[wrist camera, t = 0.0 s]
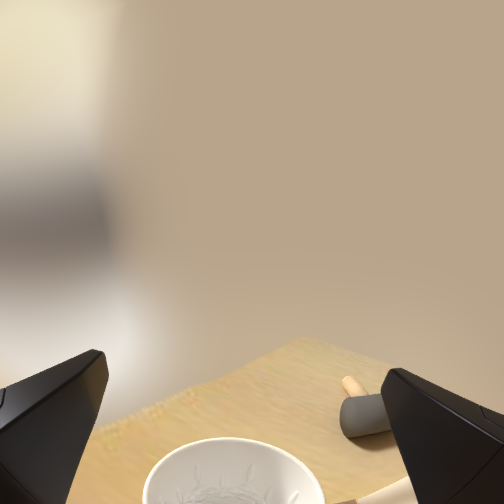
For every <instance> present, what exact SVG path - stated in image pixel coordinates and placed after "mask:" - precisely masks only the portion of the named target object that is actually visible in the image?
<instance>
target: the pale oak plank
mask: <svg viewBox="0 0 504 504" xmlns="http://www.w3.org/2000/svg"><path fill="white" fill-rule="evenodd" d="M358 501H359V504H418V502H417V499H416V496H415V493H414V490H413V487H412V484H411V481H410V478H409V475H408V476H407V477H405V478H403V479H401V480H399V481H397V482H395V483H393V484H391V485H389V486H387V487H385V488H383V489H381V490H379V491H376V492H374V493H372V494H370V495H367V496H365V497H362V498H360V499H358Z"/></svg>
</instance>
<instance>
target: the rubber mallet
mask: <svg viewBox="0 0 504 504" xmlns="http://www.w3.org/2000/svg"><path fill="white" fill-rule="evenodd" d="M342 386H343V387H344V389H345V390H346V391H347V393H348V394H349V396H350V397H348V398H346V399H345V400H344V402H343V403H342V406H341V410H340V426H341V429H342V431H343V434H344V435H345V436H346V437H348V438H351V437H357V436H363V435H369V434H374V433H379V432H384V431H388V430H391V427H390V424H389V420H388V417H387V413H386V410H385V406H384V403H383V399H382V396H381V393H380V394H373V395H369V394H368V393H367V392H366V391H365V389H364V388H363V387H362V386H361V385H360V384H359V382H358V381H357V380H356V379H355V378H354V377H353V376H346V377H345V378H344V379H343V381H342Z"/></svg>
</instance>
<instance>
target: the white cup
mask: <svg viewBox="0 0 504 504" xmlns="http://www.w3.org/2000/svg"><path fill="white" fill-rule="evenodd" d="M143 504H326V501H325V496H324V492H323V490H322V487H321V485H320V483H319V481H318V480H317V478H316V477H315V475H314V474H313V473H312V472H311V470H310V469H309V468H308V467H307V466H306V465H305V464H303V463H302V462H301V461H300V460H298V459H297V458H296V457H294V456H293V455H291V454H289V453H287V452H286V451H284V450H282V449H279V448H277V447H275V446H272V445H269V444H266V443H263V442H259V441H255V440H249V439H242V438H212V439H206V440H201V441H197V442H193V443H190V444H187V445H184V446H182V447H180V448H178V449H176V450H174V451H172V452H171V453H169V454H168V455H166V456H165V457H164V458H163V459H161V460H160V461H159V462H158V463H157V464H156V466H155V467H154V468H153V469H152V471H151V472H150V474H149V476H148V478H147V480H146V483H145V486H144V491H143Z"/></svg>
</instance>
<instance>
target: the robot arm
mask: <svg viewBox="0 0 504 504" xmlns="http://www.w3.org/2000/svg"><path fill="white" fill-rule="evenodd" d="M108 378H109V372H108V367H107V362H106V356H105V354H104V352H102V351H98V350H94V349H91V350H89V351H87V352H84V353H82V354H80V355H78V356H76V357H74V358H71V359H69V360H67V361H64V362H62V363H60V364H58V365H56V366H53V367H51V368H49V369H46V370H44V371H42V372H40V373H37V374H35V375H33V376H31V377H28V378H26V379H24V380H21V381H19V382H17V383H14V384H12V385H10V386H7V387H6V388H3V389H1V390H0V504H65V503H66V500H67V497H68V494H69V491H70V488H71V485H72V482H73V479H74V476H75V473H76V470H77V468H78V465H79V462H80V460H81V457H82V454H83V452H84V449H85V446H86V444H87V441H88V439H89V436H90V434H91V431H92V429H93V426H94V424H95V421H96V419H97V416H98V412H99V409H100V405H101V402H102V398H103V395H104V392H105V389H106V385H107V382H108ZM381 396H382V399H383V403H384V406H385V410H386V413H387V417H388V420H389V424H390V427H391V430H392V433H393V435H394V438H395V441H396V443H397V446H398V448H399V451H400V454H401V456H402V459H403V462H404V464H405V467H406V470H407V473H408V475H409V478H410V481H411V484H412V487H413V490H414V493H415V496H416V499H417V502H418V504H504V415H502V414H500V413H497V412H495V411H492V410H490V409H487V408H485V407H483V406H481V405H480V406H479V405H478V404H476V403H474V402H471V401H470V400H467V399H465V398H463V397H461V396H459V395H456V394H454V393H452V392H450V391H448V390H446V389H443V388H442V387H439V386H437V385H435V384H433V383H431V382H429V381H427V380H425V379H423V378H421V377H419V376H417V375H414V374H412V373H411V372H409V371H407V370H405V369H402V368H393V369H390V370H389V371H388V373H387V376H386V378H385V380H384V382H383V384H382V387H381Z"/></svg>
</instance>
